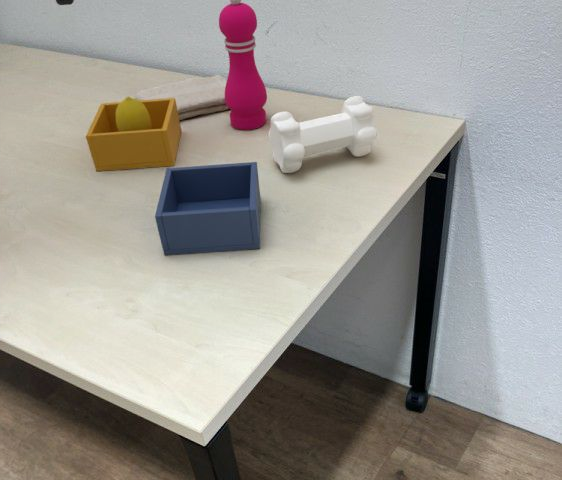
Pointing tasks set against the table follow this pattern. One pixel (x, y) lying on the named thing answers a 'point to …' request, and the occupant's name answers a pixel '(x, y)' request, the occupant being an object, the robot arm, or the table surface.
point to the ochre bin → (135, 138)
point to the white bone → (322, 134)
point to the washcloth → (191, 95)
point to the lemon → (132, 116)
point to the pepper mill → (242, 67)
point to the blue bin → (209, 209)
